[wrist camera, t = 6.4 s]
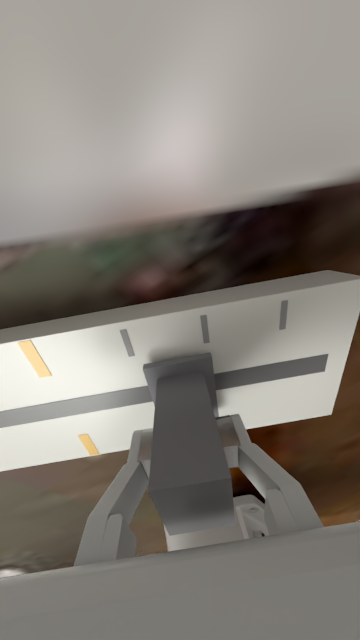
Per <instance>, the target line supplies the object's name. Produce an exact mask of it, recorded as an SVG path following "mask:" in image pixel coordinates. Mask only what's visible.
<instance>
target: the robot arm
mask: <svg viewBox="0 0 360 640" xmlns="http://www.w3.org/2000/svg"><path fill="white" fill-rule="evenodd" d="M215 419H216V423H217V426H218V430H219V434H220V437H221V441H222V445H223V449H224V452H225V456H226V460H227V464H228V467H229V468H232V467H239V468H240V469H241V471H242V472H243V473H244V474H245V475H246V477H247V478H248V479H249V480H250V481H251V483H252V484H253V485H254V486H255V487H256V489H257V490H258V491H259V492H260V494H261V495H262V496H263V497H264V498H265V504H263V503H262V502H261V501H260V500H258V499H257V498H256V497H255V496H253V495H243V496H239V497H234V498H233V502H234V514H235V525H233V526H227V527H221V528H214V529H208V530H202V531H196V532H190V533H184V534H178V535H172V536H169V534H168V532H167V530H166V528H165V526H164V529H165V534H166V540H167V547H168V552H162V553H156V554H150V555H143V556H137V557H135V555H136V545H137V538H136V536H135V535H134V533H133V532H132V530H131V529H130V527H129V524H130V522H131V520H132V518H133V516H134V513H135V511H136V509H137V507H138V505H139V503H140V501H141V499H142V496H143V494H144V492H145V490H146V488H147V486H148V484H149V474H150V462H151V449H152V437H153V428H150V429H142V430H136V431H134V432H133V435H132V440H131V445H130V451H129V456H128V461H127V464H124V466H123V467H122V468H121V470H120V471H119V473H118V474H117V476H116V477H115V479H114V480H113V482H112V483H111V485H110V486H109V487H108V489H107V490H106V492H105V493H104V495H103V496H102V498H101V499H100V501H99V502H98V503H97V505H96V506H95V508H94V509H93V511H92V512H91V514H90V515H89V517H88V519H87V522H86V526H85V529H84V532H83V536H82V539H81V543H80V546H79V549H78V553H77V556H76V560H75V563H74V566H73V567H67V568H61V569H55V570H48V571H42V572H36V573H29V574H23V575H17V576H10V577H4V578H0V640H360V521H359V522H352V523H346V524H340V525H333V526H327V527H324V526H323V524H322V523H321V521H320V519H319V517H318V515H317V513H316V512H315V510H314V508H313V506H312V504H311V502H310V501H309V499H308V497H307V495H306V493H305V491H304V490H303V488H302V486H301V484H300V483H299V482H298V481H297V480H295V479H294V478H293V477H292V476H291V475H290V474H289V473H287V472H286V471H285V470H284V469H283V468H282V467H281V466H280V465H278V464H277V463H276V462H275V461H274V460H273V459H272V458H271V457H269V456H268V455H267V454H266V453H265V452H264V451H263V450H262V449H260V448H259V447H258V446H257V445H256V444H255V443H251V441H250V438H249V436H248V434H247V431H246V429H245V426H244V424H243V422H242V419H241V417H240V415H239V414H234V415H226V416H221V417H215Z"/></svg>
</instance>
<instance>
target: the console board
mask: <svg viewBox="0 0 360 640" xmlns="http://www.w3.org/2000/svg"><path fill="white" fill-rule="evenodd" d="M359 313H360V276H359V275H353V274H348V273H342V272H336V271H331V270H324V271H319V272H313V273H308V274H302V275H297V276H291V277H286V278H280V279H275V280H269V281H264V282H258V283H253V284H247V285H242V286H236V287H231V288H225V289H220V290H214V291H209V292H203V293H198V294H192V295H187V296H181V297H176V298H170V299H165V300H159V301H154V302H148V303H143V304H137V305H132V306H126V307H121V308H115V309H110V310H104V311H99V312H93V313H88V314H82V315H77V316H71V317H66V318H60V319H55V320H49V321H44V322H38V323H33V324H27V325H22V326H16V327H11V328H5V329H0V471H5V470H11V469H17V468H23V467H29V466H35V465H40V464H46V463H52V462H58V461H64V460H70V459H75V458H81V457H87V456H93V455H99V454H105V453H110V452H116V451H122V450H128V449H130V445H131V440H132V435H133V432H134V431H136V430H142V429H150V428H153V424H154V412H155V406H154V403H153V400H152V397H151V394H150V391H149V387H148V384H147V381H146V378H145V375H144V372H143V365H144V364H147V363H153V362H158V361H164V360H170V359H175V358H181V357H187V356H192V355H198V354H204V353H209V352H210V353H211V355H212V360H213V369H214V378H215V387H216V396H217V405H218V413H219V417H221V416H226V415H234V414H239V415H240V417H241V419H242V422H243V424H244V426H245V429H250V428H256V427H262V426H268V425H274V424H279V423H285V422H291V421H297V420H303V419H309V418H314V417H320V416H326V415H331V414H332V410H333V407H334V403H335V399H336V396H337V392H338V389H339V385H340V381H341V378H342V374H343V371H344V367H345V363H346V360H347V356H348V352H349V349H350V345H351V342H352V338H353V334H354V331H355V327H356V323H357V320H358V316H359Z"/></svg>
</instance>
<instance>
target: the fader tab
mask: <svg viewBox="0 0 360 640" xmlns="http://www.w3.org/2000/svg"><path fill="white" fill-rule="evenodd" d="M143 372H144V375H145V378H146V381H147V384H148V387H149V391H150V394H151V397H152V400H153V403H154V406H155V412H154V424H153V437H152V449H151V462H150V474H149V486H148V493H149V495H150V497H151V499H152V501H153V503H154V505H155V507H156V509H157V511H158V513H159V515H160V517H161V519H162V521H163V523H164V526H165V528H166V530H167V532H168V534H169V536H172V535H178V534H184V533H190V532H196V531H202V530H208V529H214V528H221V527H227V526H233V525H235V514H234V502H233V491H232V480H231V475H230V471H229V467H228V464H227V460H226V456H225V452H224V449H223V445H222V441H221V437H220V434H219V430H218V426H217V423H216V419H215V417H219V413H218V405H217V396H216V387H215V378H214V369H213V360H212V355H211V353H210V352H209V353H204V354H198V355H192V356H187V357H181V358H175V359H170V360H164V361H158V362H153V363H147V364H144V365H143Z"/></svg>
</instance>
